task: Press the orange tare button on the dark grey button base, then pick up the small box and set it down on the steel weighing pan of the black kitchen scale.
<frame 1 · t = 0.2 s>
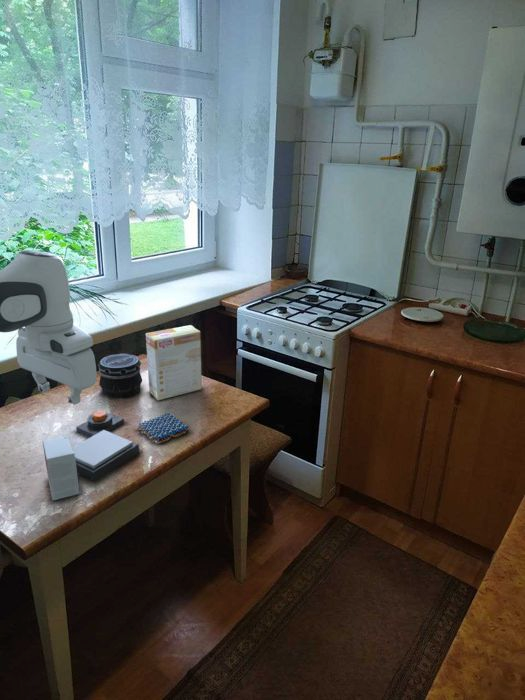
hand: (59, 396, 102), 22 cm above the table, tool pointing down, fingers open, 8 cm apart
woven mat: (163, 431, 132), on the table
container: (121, 390, 153), on the table
tare button: (99, 416, 131), point 3 cm above the table, slide at 0.1 cm
coffeecake box: (175, 391, 154), on the table
scale: (100, 458, 119), on the table
dark grey button base: (100, 427, 132), on the table
small box: (63, 488, 109), on the table
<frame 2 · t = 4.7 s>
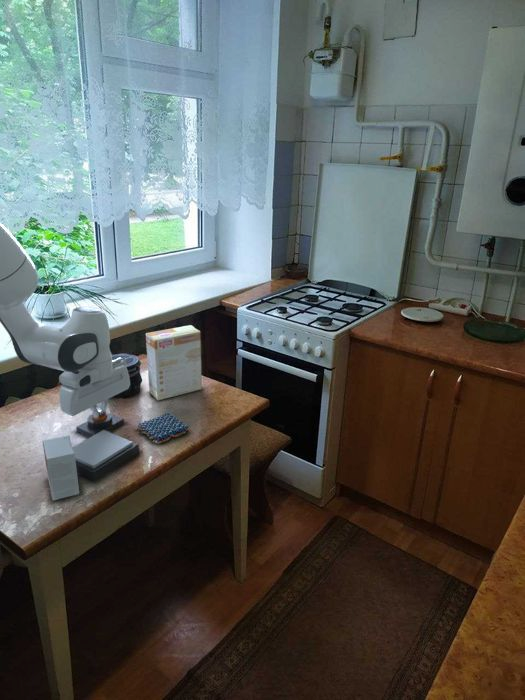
hand: (99, 415, 131), 3 cm above the table, tool pointing down, fingers closed, pressing on tare button
tare button: (99, 418, 131), point 3 cm above the table, slide at -0.7 cm, touching gripper
everything else where it was.
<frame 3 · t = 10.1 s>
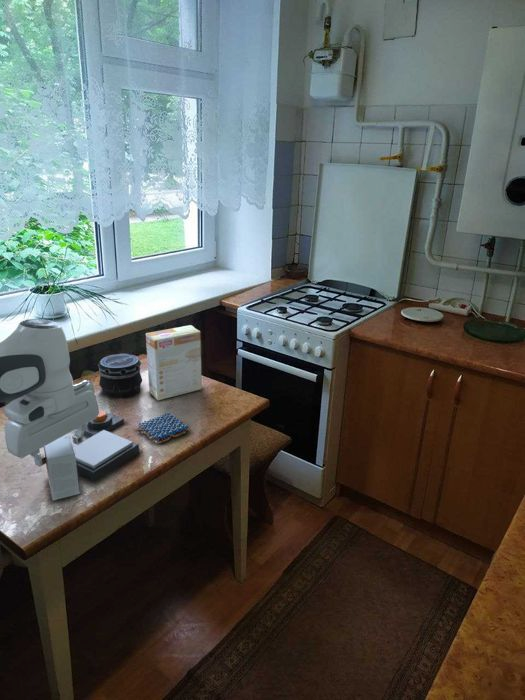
hand: (60, 453, 106), 9 cm above the table, tool pointing down, fingers open, 8 cm apart
tare button: (99, 416, 131), point 3 cm above the table, slide at 0.1 cm
everything else where it was.
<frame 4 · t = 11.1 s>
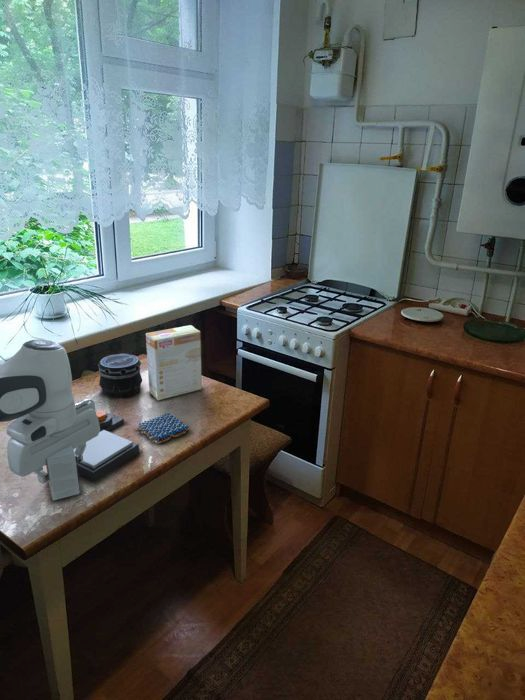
hand: (61, 470, 107), 4 cm above the table, tool pointing down, fingers closed on small box, 7 cm apart
small box: (63, 488, 109), on the table, touching gripper
everything else where it was.
when the fingers open (7 cm above the table, at t = 17.6 s): small box stays where it is, resting on scale.
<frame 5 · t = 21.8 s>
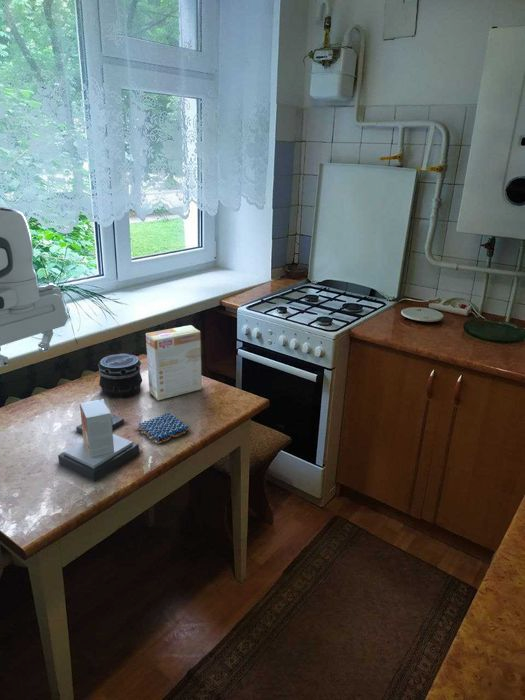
hand: (24, 357, 101), 29 cm above the table, tool pointing down, fingers open, 8 cm apart
small box: (99, 447, 118), point 3 cm above the table, touching scale
everything else where it was.
at the end: tare button pushed in 0.8 cm at the most during the clip, back to where it started at the end; tare button slide at 0.1 cm; small box inside the target area on the scale (0.0 cm from its centre), point 3.1 cm above the scale's base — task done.
